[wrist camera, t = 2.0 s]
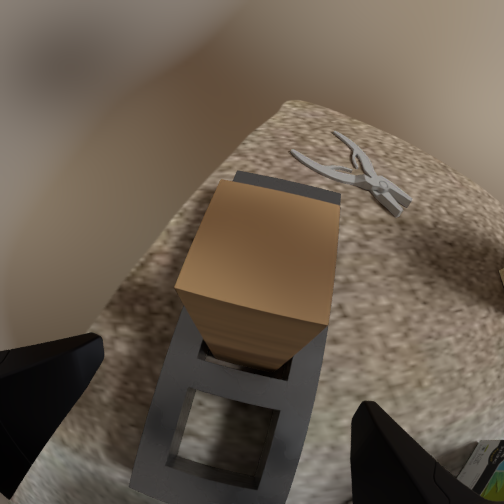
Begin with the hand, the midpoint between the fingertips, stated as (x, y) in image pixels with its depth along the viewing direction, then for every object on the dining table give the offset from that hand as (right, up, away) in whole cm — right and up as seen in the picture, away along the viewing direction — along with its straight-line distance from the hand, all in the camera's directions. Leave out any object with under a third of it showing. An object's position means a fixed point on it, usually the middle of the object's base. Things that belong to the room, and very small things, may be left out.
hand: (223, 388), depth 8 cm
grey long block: (+1, -3, +13) cm, 13 cm away
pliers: (+14, +14, +24) cm, 31 cm away
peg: (+1, -3, +13) cm, 13 cm away
